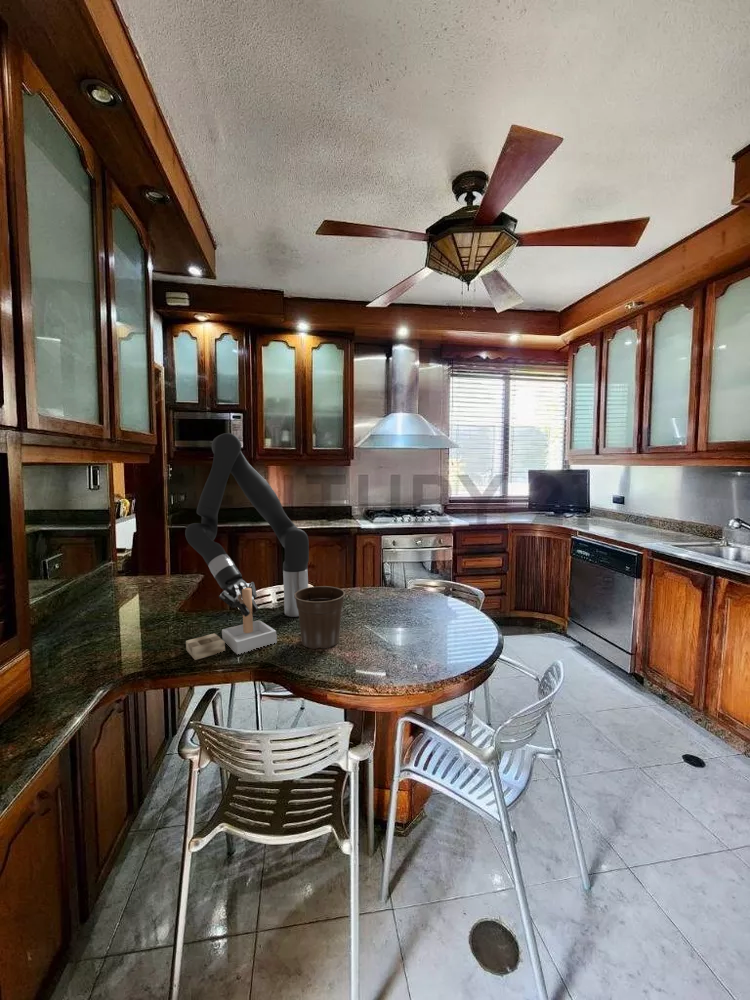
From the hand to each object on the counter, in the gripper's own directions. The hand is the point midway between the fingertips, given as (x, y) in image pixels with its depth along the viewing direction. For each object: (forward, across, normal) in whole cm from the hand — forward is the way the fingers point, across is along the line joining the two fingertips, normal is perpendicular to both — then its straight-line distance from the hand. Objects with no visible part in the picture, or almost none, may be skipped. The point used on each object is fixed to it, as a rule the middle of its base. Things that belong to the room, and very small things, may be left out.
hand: (252, 613), depth 138 cm
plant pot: (+20, +12, -6) cm, 24 cm away
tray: (+6, 0, +8) cm, 10 cm away
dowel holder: (+1, -11, +14) cm, 18 cm away
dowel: (+3, 0, +6) cm, 7 cm away
